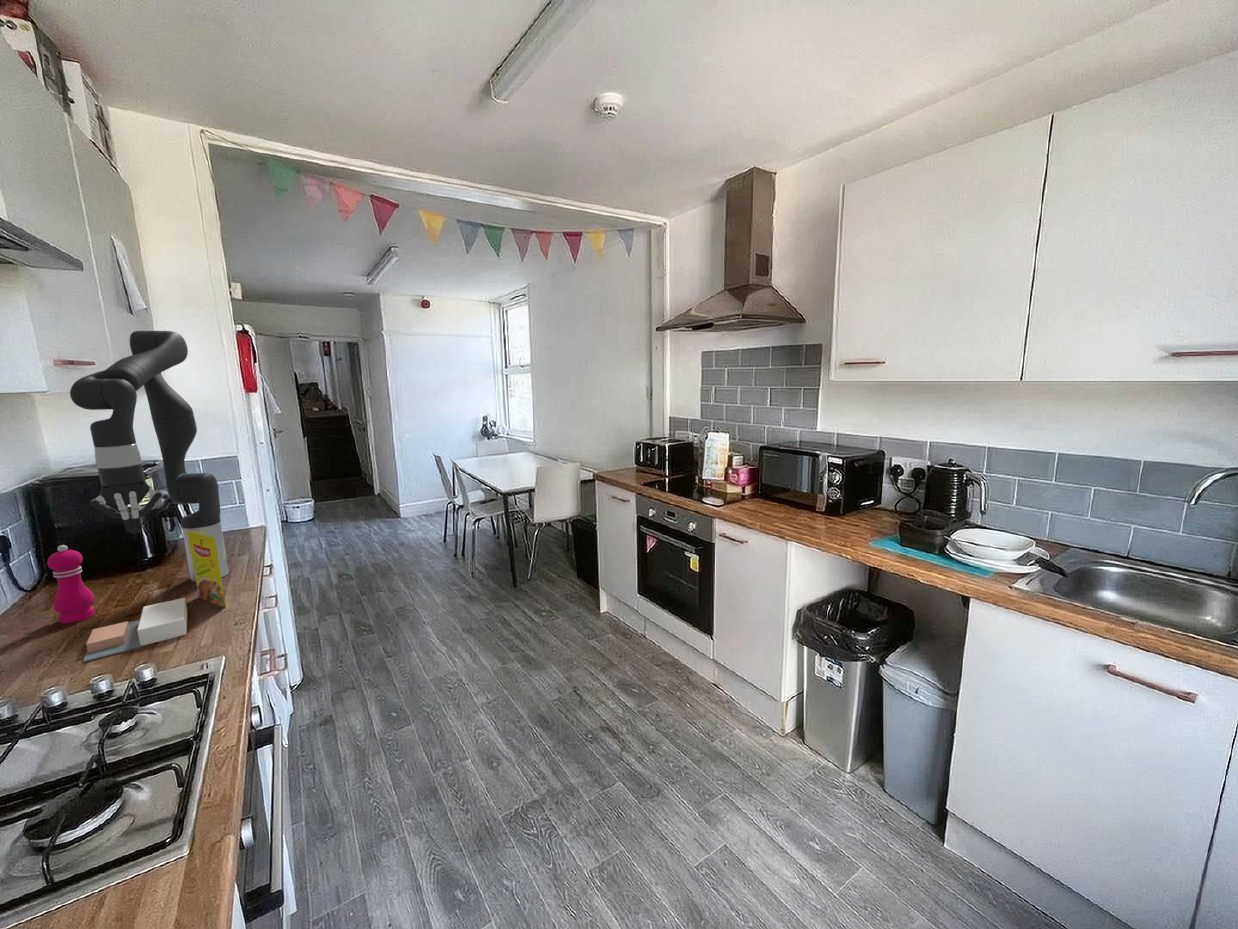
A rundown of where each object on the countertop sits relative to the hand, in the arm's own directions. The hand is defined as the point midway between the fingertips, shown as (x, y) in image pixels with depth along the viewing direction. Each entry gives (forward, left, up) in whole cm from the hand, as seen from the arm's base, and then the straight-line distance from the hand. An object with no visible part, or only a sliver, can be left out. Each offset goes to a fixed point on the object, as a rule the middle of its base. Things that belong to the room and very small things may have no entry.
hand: (134, 532), depth 119 cm
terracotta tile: (+5, -7, -22) cm, 24 cm away
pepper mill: (-18, -15, -25) cm, 34 cm away
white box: (+5, +3, -24) cm, 25 cm away
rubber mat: (+5, -6, -24) cm, 25 cm away
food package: (-6, +12, -25) cm, 28 cm away
